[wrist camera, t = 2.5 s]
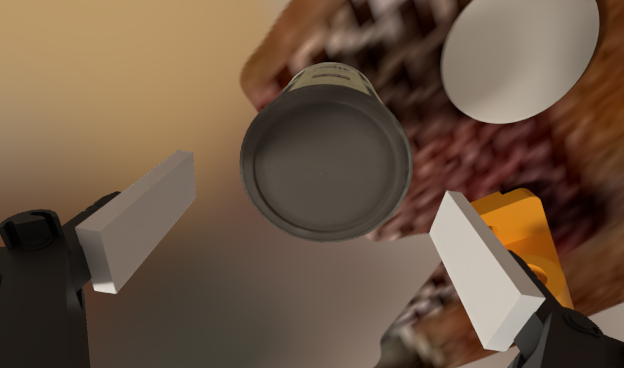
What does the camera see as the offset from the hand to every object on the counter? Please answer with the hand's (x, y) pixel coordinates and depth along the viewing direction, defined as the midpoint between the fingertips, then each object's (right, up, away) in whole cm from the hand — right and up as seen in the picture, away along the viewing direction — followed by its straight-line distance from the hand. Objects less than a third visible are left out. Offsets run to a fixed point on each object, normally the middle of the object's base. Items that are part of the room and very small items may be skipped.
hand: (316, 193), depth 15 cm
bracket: (+20, -4, +19) cm, 28 cm away
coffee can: (+2, +8, +15) cm, 17 cm away
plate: (+17, +12, +11) cm, 24 cm away
